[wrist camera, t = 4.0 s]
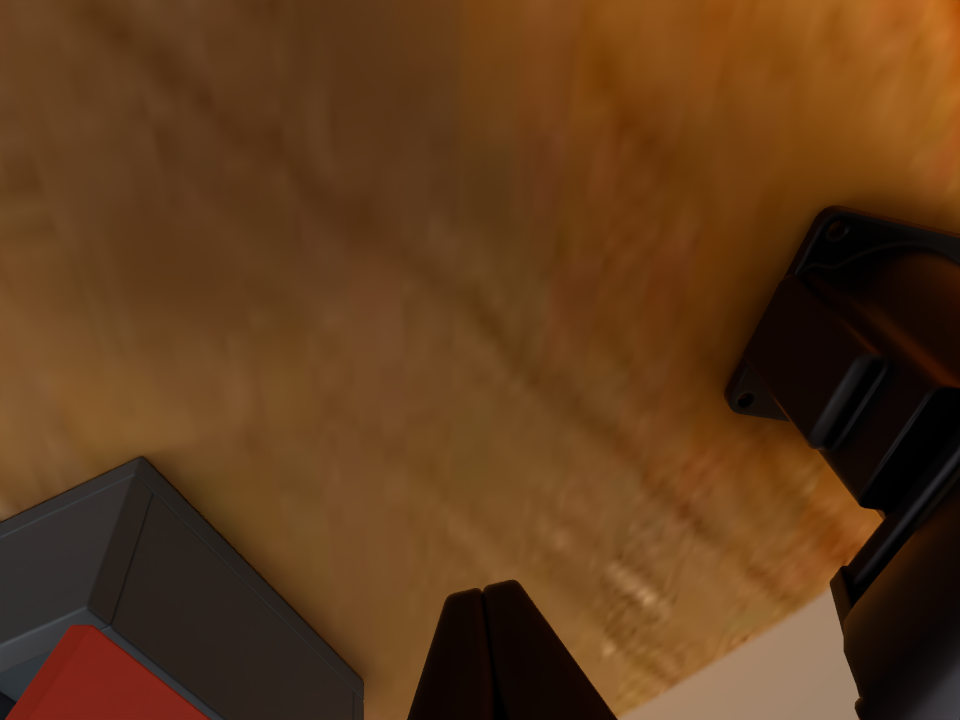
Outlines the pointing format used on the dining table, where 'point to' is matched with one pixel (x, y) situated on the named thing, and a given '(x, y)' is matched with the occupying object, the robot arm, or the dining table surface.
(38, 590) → the lunchbox
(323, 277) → the dining table surface
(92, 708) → the lid
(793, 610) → the dining table surface
